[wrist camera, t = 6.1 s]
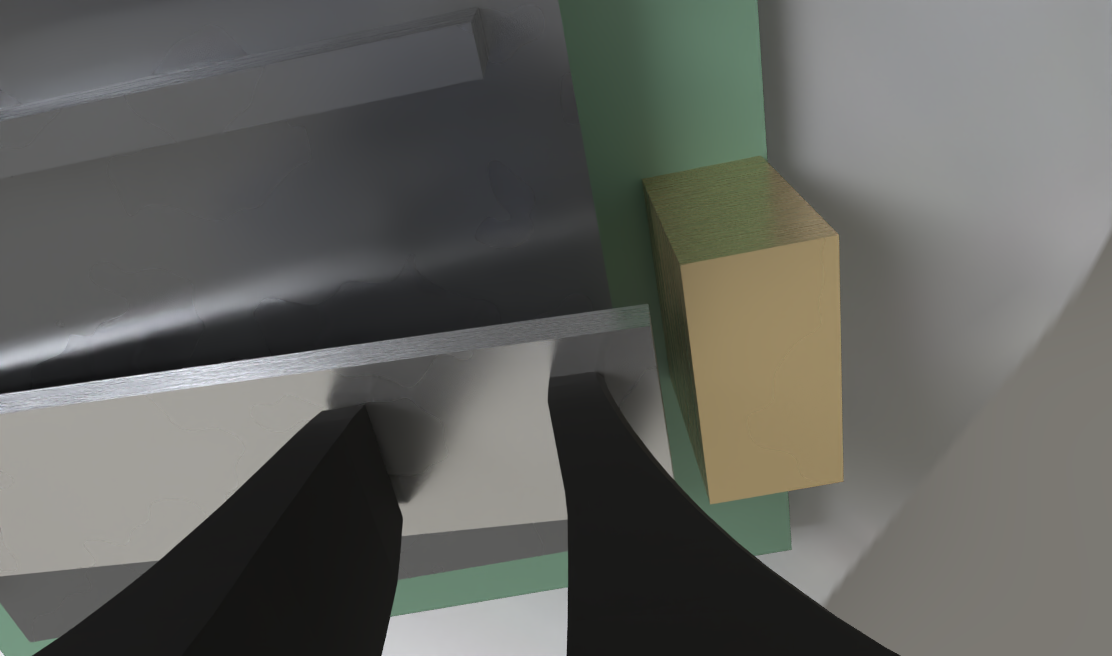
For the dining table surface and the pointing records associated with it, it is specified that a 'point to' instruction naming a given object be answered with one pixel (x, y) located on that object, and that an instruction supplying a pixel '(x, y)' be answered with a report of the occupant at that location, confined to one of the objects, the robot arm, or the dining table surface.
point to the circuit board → (631, 225)
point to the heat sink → (373, 227)
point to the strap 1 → (289, 404)
